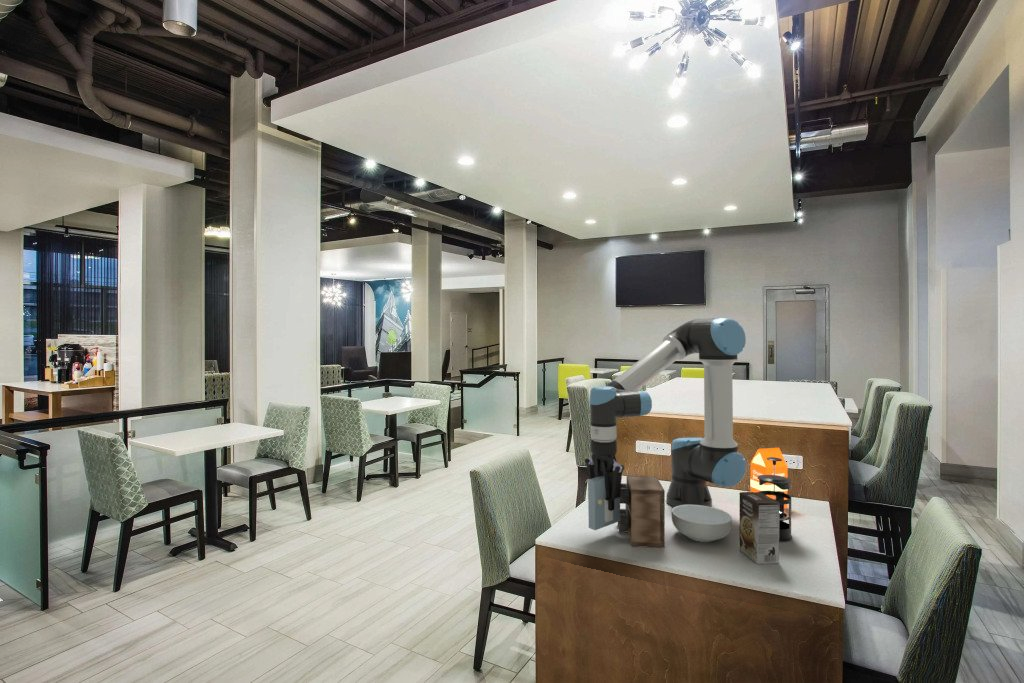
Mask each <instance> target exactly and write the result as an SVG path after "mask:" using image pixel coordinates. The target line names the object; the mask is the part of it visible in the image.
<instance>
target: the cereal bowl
mask: <svg viewBox="0 0 1024 683" xmlns="http://www.w3.org/2000/svg"><path fill="white" fill-rule="evenodd" d="M671 522H672V525H673V527H675V529H676V531H678V532H679V533H681V534H682V535H684V536H686V537H687V538H688V539H690V540H692V541H694V540H695V542H698V541H700V542H699V543H711V542H713V541H717V540H721V539H723V538H725V537H727V535H728V534H730V532H731V530H732V527H733V526H732V524H733V518H732V515H730V513H728V512H727V511H724V510H722V509H720V508H716V507H714V506H712V507H708V506H702V505H680V506H676V507H673V508H672V509H671Z"/></svg>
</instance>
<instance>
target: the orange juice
mask: <svg viewBox="0 0 1024 683" xmlns="http://www.w3.org/2000/svg"><path fill="white" fill-rule="evenodd" d="M768 457H776V458H780V459H782V461H776V465H775V475H778V476H783V477H786V478H789V477H788V476H789V474H788V472H789V471H788V469H789V468H788V467H789V466H788V465H787V462H786V460H785V458H784V456H783V453H782V451H781V449H780V447H769V448H758V449H757V450H756V453H755V454H754V456H753V457H752V459H751V461H750V480H749V482H750V485H749V486H750V492H759V491H774V484H772V483H764V484H763V485H759V479H758V476H759V475H774V465H773V461H770V460H767V459H766V458H768ZM788 490H789V489H787V490H782V489H780V488H779V487H777V486H776V485H775V491H782V492H784V493H786V494H788ZM767 496H768V497H770V498H772V499H774V495H767ZM775 499H776V496H775ZM786 499H787V498H784V500H786ZM784 509H788V504H784Z"/></svg>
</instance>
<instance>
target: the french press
mask: <svg viewBox="0 0 1024 683" xmlns="http://www.w3.org/2000/svg"><path fill="white" fill-rule="evenodd" d="M766 459H767V460H770V461H773V465H774V475H759V476H758V479H759V485H763V484H764V483H772V484H774V491H759V492H761V493H763V494H765V495H774V500H776V501H777V502H779V503H780V517H779V543H781V542H783V543H784V542H789V541H792V539H793V536H792V496H791V495H790V494H788V493H787V494H786V493H784V492H782V491H775V485H776V486H777V487H779V488H780V489H782V490H787V489H788V490H789V489H791V488H790V487H791V486H790V484H791V483H792V479H791V478H789V477H788V478H786V477H783V476H778V475H775V465H776V461H782V459H780V458H776V457H768V458H766ZM775 496H776V499H775ZM784 498H787V499H786V500H784ZM784 504H787V505H788V512H785V508H784ZM787 521H788V522H787Z"/></svg>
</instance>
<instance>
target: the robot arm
mask: <svg viewBox="0 0 1024 683" xmlns="http://www.w3.org/2000/svg"><path fill="white" fill-rule="evenodd" d="M746 339H747V338H746V333H745V330H744V328H743V326H742V325H741V324H740V323H739V322H738V321H737V320H735V319H732V318H728V317H727V318H725V317H718V318H717V317H716V318H714V317H712V318H694V319H692V320H689V321H686V322H685V323H683V324H681V325H680V326H678V327H676V328H674V329H673V330H672V331H671V332H669V333H668V334H667V335H665V336H664V337H663V338H662V341H661V343H660V344H658V345H656V347H654V348H653V349H652V350H651V351H650V352H648V353H647V354H646V355H644V356H643V357H642V358H640V359H639V360H637V361H636V362H635V363H633V364H632V365H631V366H629V368H627V369H626V370H625V371H623V372H622V373H620V375H618V376H616V378H614V379H613V380H611V381H610V382H609V383H608V384H606V385H605V386H603V385H602V386H599V385H598V386H593V387H592V388H591V389H590V394H589V415H590V416H589V418H590V438H591V440H590V452H591V456H590V457H588V458H584V462H585V465H586V470H587V471H586V472H587V481H588V480H589V479H592V478H596V477H600V476H604V478H605V487H606V496H607V498H605V522H609V521H611V520H613V510H614V499H616V498H619V497H620V493H621V483H622V478H623V471H624V469H625V466H624V465H623V464H620V463H618V460H617V459H616V454H617V452H618V451H617V449H618V447H617V446H618V445H617V440H616V439H617V438H618V437H617V435H618V434H617V419H620V418H632V417H642V416H647V415H648V414H650V412H651V411H652V408H653V407H652V406H653V401H652V397H651V395H650V394H649V393H648V392H647V391H645V390H640V389H641V388H642V387H644V386H645V385H646V384H648V383H649V382H650V381H652V380H653V379H654V378H656V377H657V376H658V375H659V374H661V372H663V371H665V370H666V369H667V368H668V367H670V366H671V365H672V364H673V363H675V362H676V361H677V360H678V361H679V360H680V361H682V360H684V359H685V358H686V357H688V356H690V355H692V354H698V360H699V361H700V362H701V363H702V364H703V376H704V377H703V382H704V384H703V394H704V397H703V398H704V401H703V402H704V406H703V407H704V410H703V412H704V416H703V417H704V420H703V421H704V437H678V438H675V439H673V440H672V442H671V449H670V454H671V455H670V456H671V458H670V459H671V460H670V461H671V481H670V484H669V486H668V489H667V492H666V496H665V498H666V503H667V505H669V506H671V507H673V508H674V507H676V506H680V505H702V506H708V507H713V499H712V495H711V493H710V490H709V486H708V483H711V484H713V485H715V486H717V487H723V488H726V489H727V488H729V489H730V488H732V487H733V488H734V487H735V486H737V485H738V484H740V482H741V481H742V480H743V479H744V477H745V476H746V472H747V467H748V466H747V460H746V458H745V457H744V455H743V454H741V453H740V452H739V444H738V442H737V441H735V440H734V422H733V421H734V419H733V417H734V416H733V415H734V414H733V413H734V412H733V411H734V409H733V407H734V406H733V404H734V403H733V396H734V394H733V392H734V391H733V389H734V388H733V365H734V364H735V363H736V362H738V355H739V354H740V353H741V352H743V350H744V348H745V347H746Z"/></svg>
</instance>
